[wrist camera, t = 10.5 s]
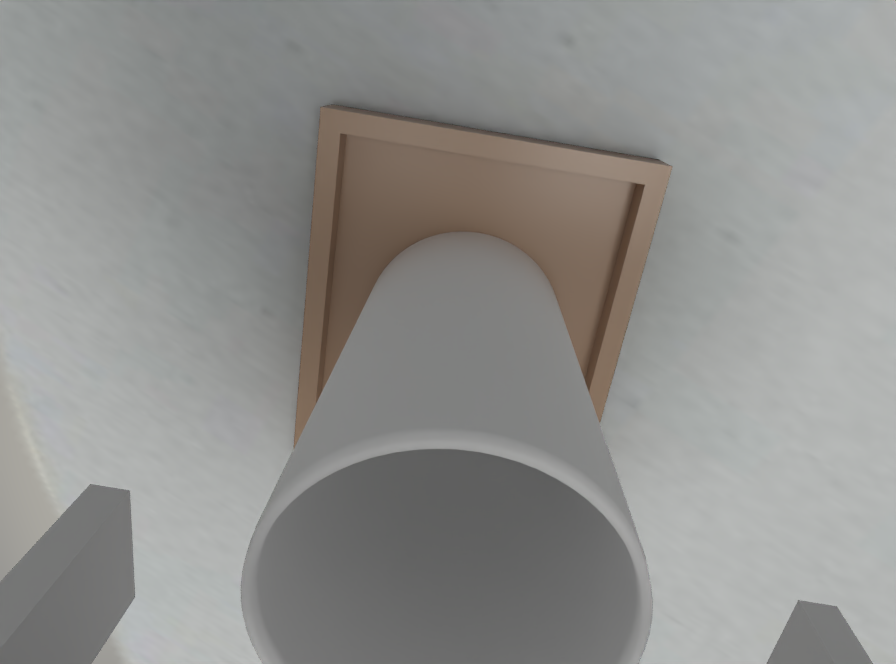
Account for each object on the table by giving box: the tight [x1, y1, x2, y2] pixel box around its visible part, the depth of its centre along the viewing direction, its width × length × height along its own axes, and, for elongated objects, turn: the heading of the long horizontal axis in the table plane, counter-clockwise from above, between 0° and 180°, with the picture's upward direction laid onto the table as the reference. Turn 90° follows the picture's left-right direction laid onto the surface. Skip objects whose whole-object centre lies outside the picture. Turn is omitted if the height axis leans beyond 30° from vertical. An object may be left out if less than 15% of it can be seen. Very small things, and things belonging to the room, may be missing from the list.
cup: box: [241, 231, 653, 664], centre depth 20 cm, size 8×8×16 cm
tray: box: [294, 104, 672, 448], centre depth 28 cm, size 16×13×2 cm
